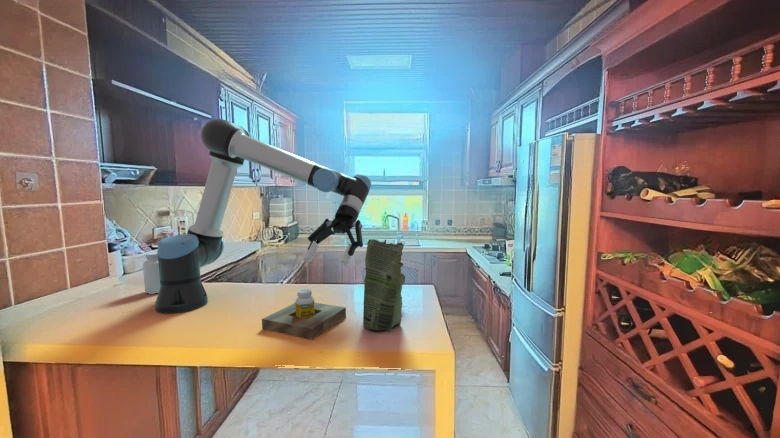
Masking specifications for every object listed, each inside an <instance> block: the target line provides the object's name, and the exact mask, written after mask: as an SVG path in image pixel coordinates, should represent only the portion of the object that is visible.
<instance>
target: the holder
mask: <svg viewBox="0 0 780 438" xmlns="http://www.w3.org/2000/svg"><path fill="white" fill-rule="evenodd" d="M314 308H315V315H314V316H312V317H311V318H309V319H305V318H300V317H296V304H295V302H294V303H291V304H290V305H288V306H285V307H284V308H281V309H280V310H277V311H275V312H273V313H272V314H269V315H267V316H265V317H263V318H261V326H262V327H261V328H262V330H264V331H270V332H274V333H278V334H284V335H288V336H293V337H297V338H302V339H306V340H307V339H308V340H312V341H313V340H314V339H316V338H317V337H318V336H320V335H321V334H323V333H325V332H326V331H327V330H329V329H330V328H331V327H333V326H335V325H336V324H338V323H339V322H341V321H342V320H343V319H345V318H347V307H345V306H339V305H333V304H332V305H331V304H326V303H320V302H314Z"/></svg>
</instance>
